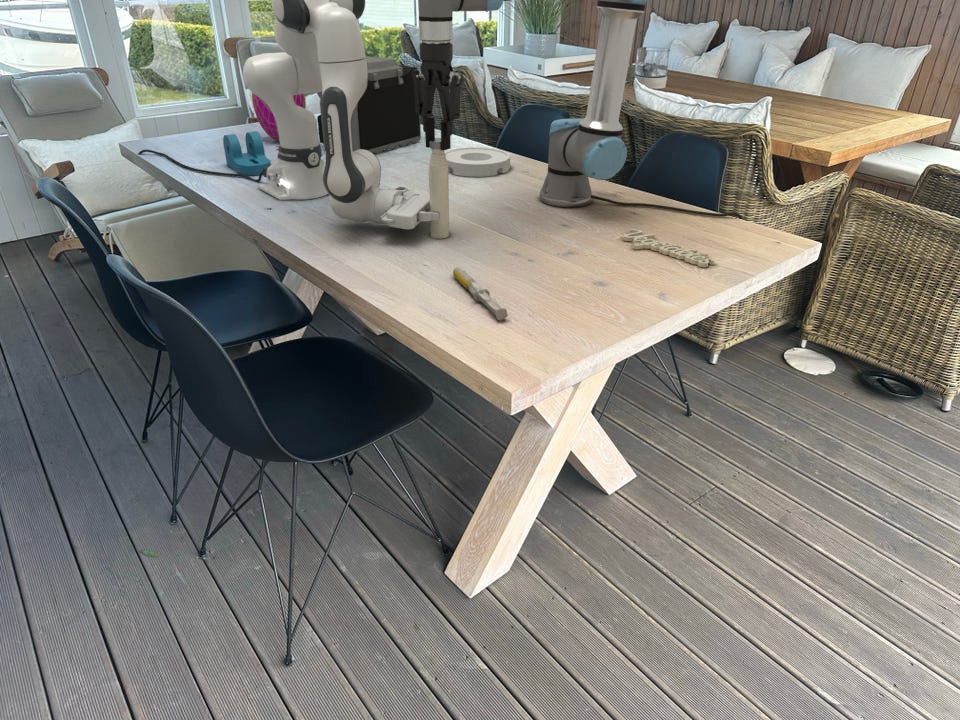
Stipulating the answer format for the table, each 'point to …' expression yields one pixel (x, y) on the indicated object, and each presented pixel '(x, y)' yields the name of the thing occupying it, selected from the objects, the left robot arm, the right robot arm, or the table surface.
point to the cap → (435, 143)
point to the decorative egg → (267, 116)
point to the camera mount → (246, 154)
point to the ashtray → (477, 161)
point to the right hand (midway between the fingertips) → (438, 147)
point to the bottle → (439, 193)
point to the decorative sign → (667, 248)
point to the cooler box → (383, 109)
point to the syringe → (479, 293)
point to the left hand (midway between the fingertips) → (442, 212)
